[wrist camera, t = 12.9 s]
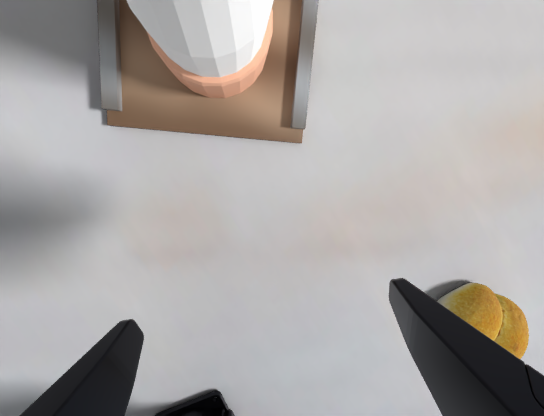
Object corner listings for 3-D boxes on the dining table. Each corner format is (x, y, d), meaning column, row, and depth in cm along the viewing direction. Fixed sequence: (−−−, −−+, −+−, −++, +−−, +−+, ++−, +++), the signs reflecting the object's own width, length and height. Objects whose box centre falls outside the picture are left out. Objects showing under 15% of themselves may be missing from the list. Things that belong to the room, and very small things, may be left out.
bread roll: (452, 268, 25) (491, 289, 21) (516, 303, 26) (563, 329, 23) (405, 337, 26) (434, 370, 22) (470, 367, 27) (508, 402, 24)
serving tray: (300, 143, 20) (303, 142, 19) (111, 125, 19) (102, 123, 17) (319, -49, 18) (325, -63, 17) (103, -91, 16) (92, -110, 15)
